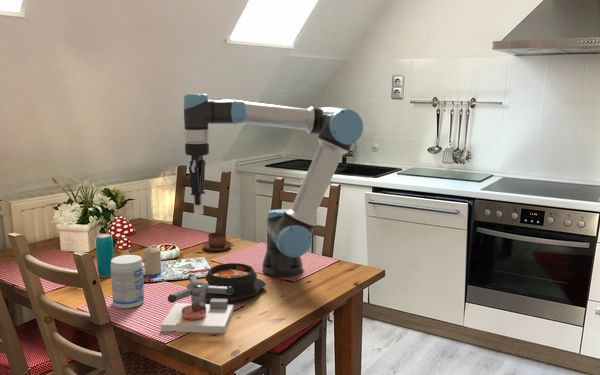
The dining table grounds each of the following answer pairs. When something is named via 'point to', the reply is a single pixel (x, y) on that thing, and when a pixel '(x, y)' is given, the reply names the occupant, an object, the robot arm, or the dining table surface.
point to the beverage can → (104, 254)
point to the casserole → (233, 281)
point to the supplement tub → (127, 281)
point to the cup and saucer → (217, 242)
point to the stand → (211, 323)
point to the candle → (153, 260)
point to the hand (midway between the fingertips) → (198, 213)
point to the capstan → (197, 297)
